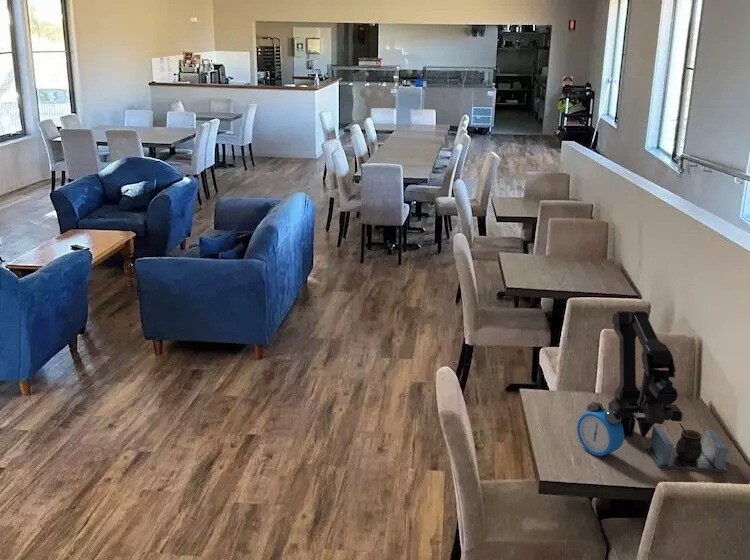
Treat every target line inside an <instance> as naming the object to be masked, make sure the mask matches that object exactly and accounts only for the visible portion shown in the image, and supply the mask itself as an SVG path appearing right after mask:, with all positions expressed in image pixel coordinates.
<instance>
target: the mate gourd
mask: <svg viewBox="0 0 750 560" xmlns="http://www.w3.org/2000/svg"><path fill="white" fill-rule="evenodd" d="M678 424H679V427H681V429H682V431H681V434H680V438H679V439H678V440H677V442H676V444H675V448H676V450H677V454H678V455H679V457H681V458H682V459H684V460H686V461H695V460H697V459H698V458H699V457H700V455H701V453H702V443H701V441H702V437H703V436H702V434H701V433H700V432H699V431H696V430H694V429H685V428H684V426H683V425H682V423H681V422H679V423H678Z"/></svg>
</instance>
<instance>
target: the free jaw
mask: <svg viewBox="0 0 750 560" xmlns="http://www.w3.org/2000/svg"><path fill="white" fill-rule="evenodd" d="M650 436H651V437H650V443H649V446H651V448H652V450H653V451H654V453H655V454H656V456H657V458H658V459H659V461H660V462H661V464H662V465H669V463H670V461H671V456H672V451H673V448H674V443H673V441H672V440H671V438H669V435H667V433H666V432H665V430H664V429H663V428H662V426H661V425H653V426H652V432H651V435H650Z"/></svg>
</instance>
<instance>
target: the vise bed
mask: <svg viewBox="0 0 750 560" xmlns="http://www.w3.org/2000/svg"><path fill="white" fill-rule="evenodd" d="M701 446H702V453H701V455H700V457H699V458H698V459H697V460H695V461H686V460H684V459H682V458H681V457H679V455H678V454H677V450H676V447H673V451H672V456H671V461H670V463H669V465H662V464H661V462H660V461H659V459H658V458H657V456H656V454H655V453H654V451H653V450H652V448H651V446H650V445H646V450H647V452H648V454H649V456H650V457H651V459H652V460H653V462H654V464H655V465H656V466H657V468H658V469H664V470H665V469H666V470H677V471H679V470H681V471H694V472H708V473H709V472H710V473H713V472H714V473H728V471H729V470H728V468H727V467H726V465H725V464H726V460H727V454H728V451H729V447H728V446H727V445H726V444H725V442H724V441H723V440H722V439H721V438H720V436H719V435H718V434H717V432H716V431H715V430H714V429H712V428H711V429H709V428H705V430H704V434H703V440H702V443H701Z"/></svg>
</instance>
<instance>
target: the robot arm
mask: <svg viewBox="0 0 750 560" xmlns="http://www.w3.org/2000/svg"><path fill="white" fill-rule="evenodd" d="M612 324H613V331H614V332H615V334H616V336H617V338H618V339H619V386H618V387H617V389H616V390H615V391H614V395H613V397H614V398H613V399H611V401H610V402H608V406H607V407H608V409H607V410H614V411H616V413H617V417H620V418H621V424H622V426H623V430H624V437H625V436H626V437H627V436H628V437H634V435H635V434H634V431H635V425H636V421H637V424H638V429H639V433H640V436H641V438H646V436H647V434H648V433H649V432H650V430H651V428H653V426H655V424H658V425H662V424H664V422H665V421H672V422H682V421H683V417H684V415H683V412H682V411H681V409H680V408H679V406H678V405H677V404H674V403H675V402H676V400H677V399H678V396H679V394H678V391H677V389H676V388H675V387H674V386H673V381H672V380H670V378H675V376H676V375H675V372H676V366H675V361H674V357H673V354H672V352H671V351H670V349H669V348H668V346H667V345H666V344H664V343H663V342H661V341H660V340H659V338H658V336H657V334H656V332H655V330H654V328H653V326H652V324H651V321H650V320H649V314H648V312H646V311H644V310H631V311H630V310H617V311H616V312H615V313H613V315H612ZM636 338H638V340H639V344H640V345H641V348H642V352H641V355H640V356H641V363H642V369H643V370H644V371H643V375H642V381H641V386H639V388H638V386H637V384H636V383H637V380H636V378H637V377H636V375H637V374H636V372H637V371H636V365H637V363H636V361H637V360H636V359H637V358H636V351H637V350H636Z"/></svg>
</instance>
